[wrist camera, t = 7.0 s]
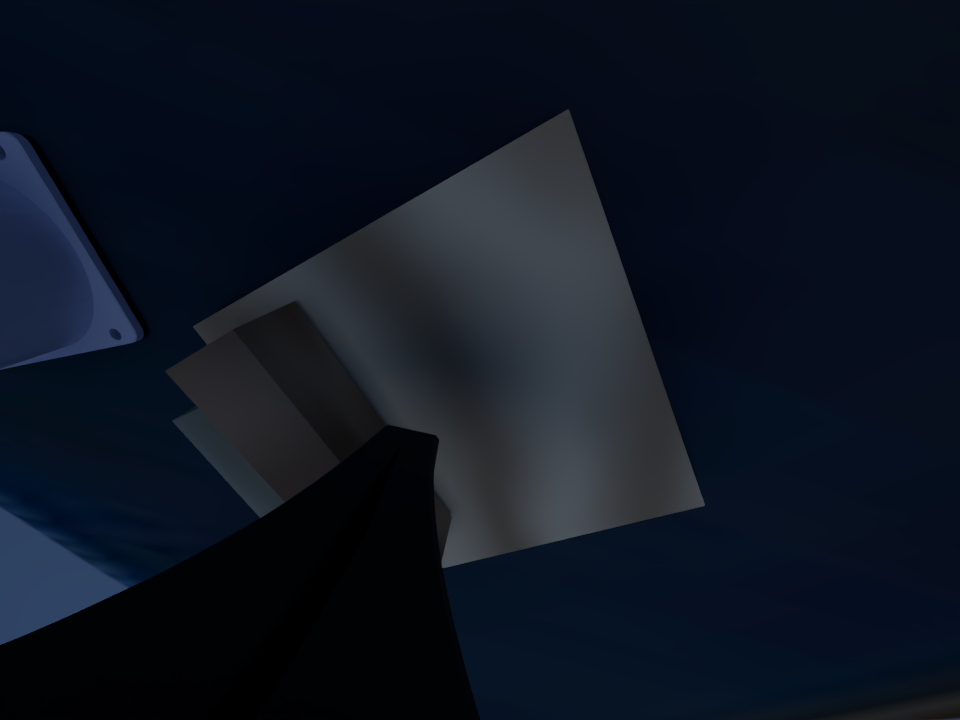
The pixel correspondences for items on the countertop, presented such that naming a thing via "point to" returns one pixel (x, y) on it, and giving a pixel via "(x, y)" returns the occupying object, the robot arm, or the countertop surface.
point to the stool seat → (492, 352)
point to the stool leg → (283, 401)
